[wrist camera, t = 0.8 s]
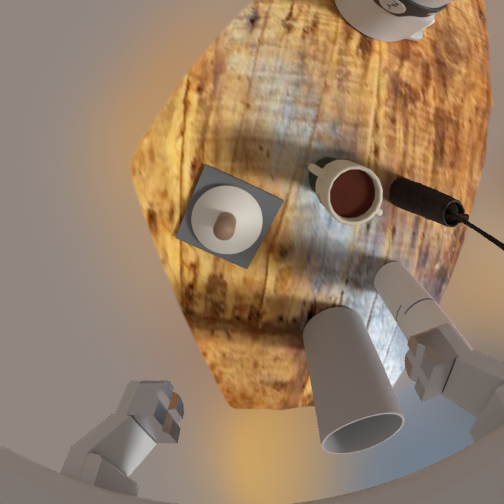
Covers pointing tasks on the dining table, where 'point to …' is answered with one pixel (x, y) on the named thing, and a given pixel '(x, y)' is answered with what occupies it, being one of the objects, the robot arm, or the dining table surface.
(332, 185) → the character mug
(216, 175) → the mat
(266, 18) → the dining table surface
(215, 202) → the lid
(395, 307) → the cylindrical container
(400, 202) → the butter churn
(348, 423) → the cylinder vase
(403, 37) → the robot arm
